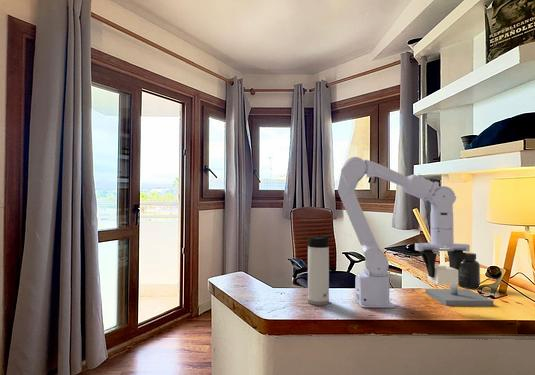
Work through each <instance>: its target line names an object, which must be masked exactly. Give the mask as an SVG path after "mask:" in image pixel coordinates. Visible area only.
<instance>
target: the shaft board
mask: <svg viewBox="0 0 535 375" xmlns="http://www.w3.org/2000/svg"><path fill="white" fill-rule="evenodd" d="M424 293H425V294H426V295H427V296H429V297H431V298H432V299H434V300H436V301H437V302H439V303H441V304H442V305H443V306H456V307H457V306H458V307H459V306H460V307H461V306H464V307H468V306H470V307H471V306H472V307H474V306H475V307H479V306H480V307H485V306H486V307H494V300H492V299H490V298H488V297H487V296H484V295H482V294H479V293H476V292H475V291H472V290H470V289H469V288H462V289H461V288H460V289H459V285H449V288H425V292H424Z"/></svg>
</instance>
